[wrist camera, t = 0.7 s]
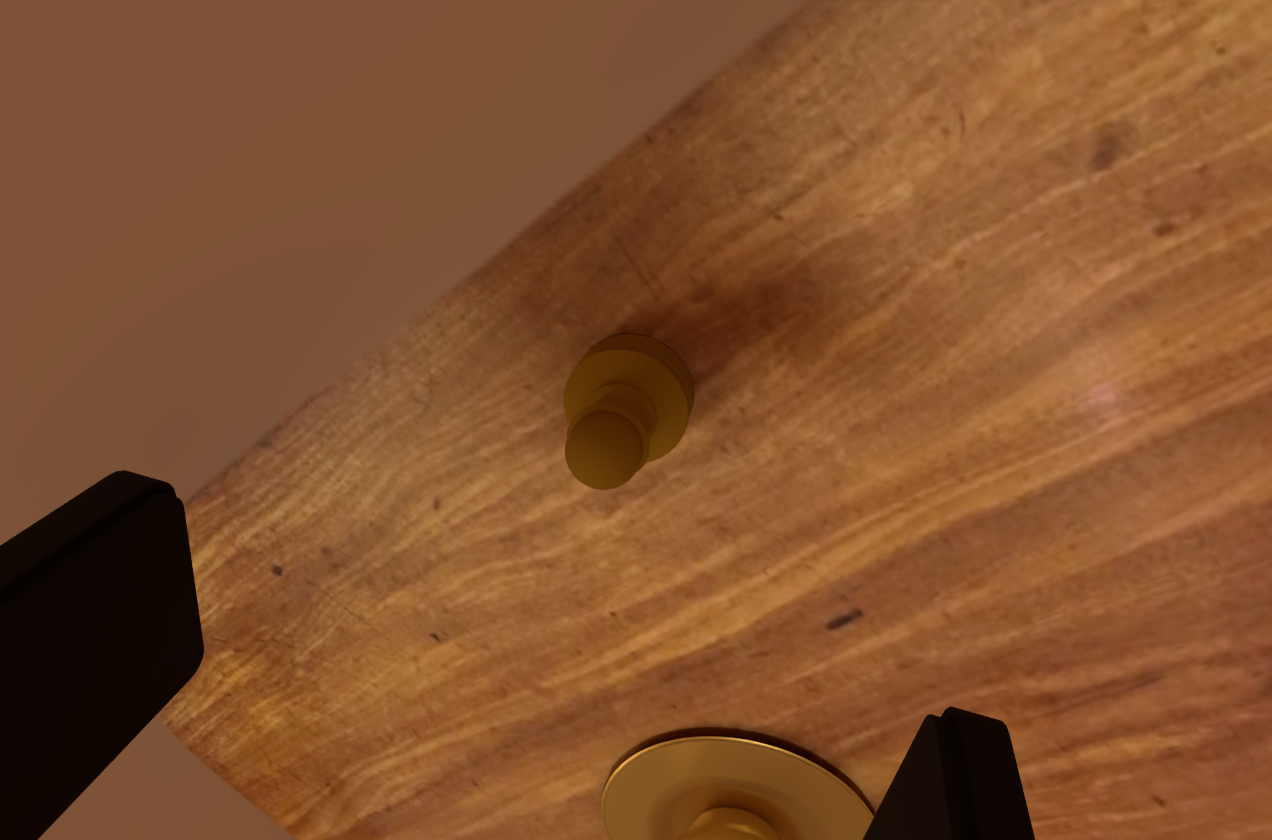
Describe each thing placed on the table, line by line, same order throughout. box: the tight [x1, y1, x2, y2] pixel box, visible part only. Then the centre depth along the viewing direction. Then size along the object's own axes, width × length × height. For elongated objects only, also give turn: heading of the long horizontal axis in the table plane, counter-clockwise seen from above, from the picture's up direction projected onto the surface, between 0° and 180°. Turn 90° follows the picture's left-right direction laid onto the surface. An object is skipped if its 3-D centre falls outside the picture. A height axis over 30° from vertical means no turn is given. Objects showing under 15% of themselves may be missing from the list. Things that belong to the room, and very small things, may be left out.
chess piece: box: [564, 334, 694, 490], centre depth 23 cm, size 4×4×5 cm
